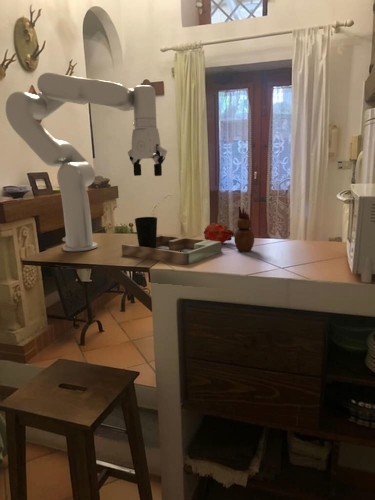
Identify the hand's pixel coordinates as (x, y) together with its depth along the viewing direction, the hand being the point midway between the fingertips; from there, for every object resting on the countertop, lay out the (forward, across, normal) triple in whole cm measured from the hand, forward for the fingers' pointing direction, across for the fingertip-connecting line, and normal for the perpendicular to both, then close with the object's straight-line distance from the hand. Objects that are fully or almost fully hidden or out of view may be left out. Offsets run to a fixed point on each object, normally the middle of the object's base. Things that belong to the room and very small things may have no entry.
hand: (147, 175), depth 137 cm
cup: (+26, +4, -6) cm, 27 cm away
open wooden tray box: (+26, +12, -3) cm, 29 cm away
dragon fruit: (+26, +18, +18) cm, 36 cm away
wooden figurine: (+26, +32, +12) cm, 43 cm away
